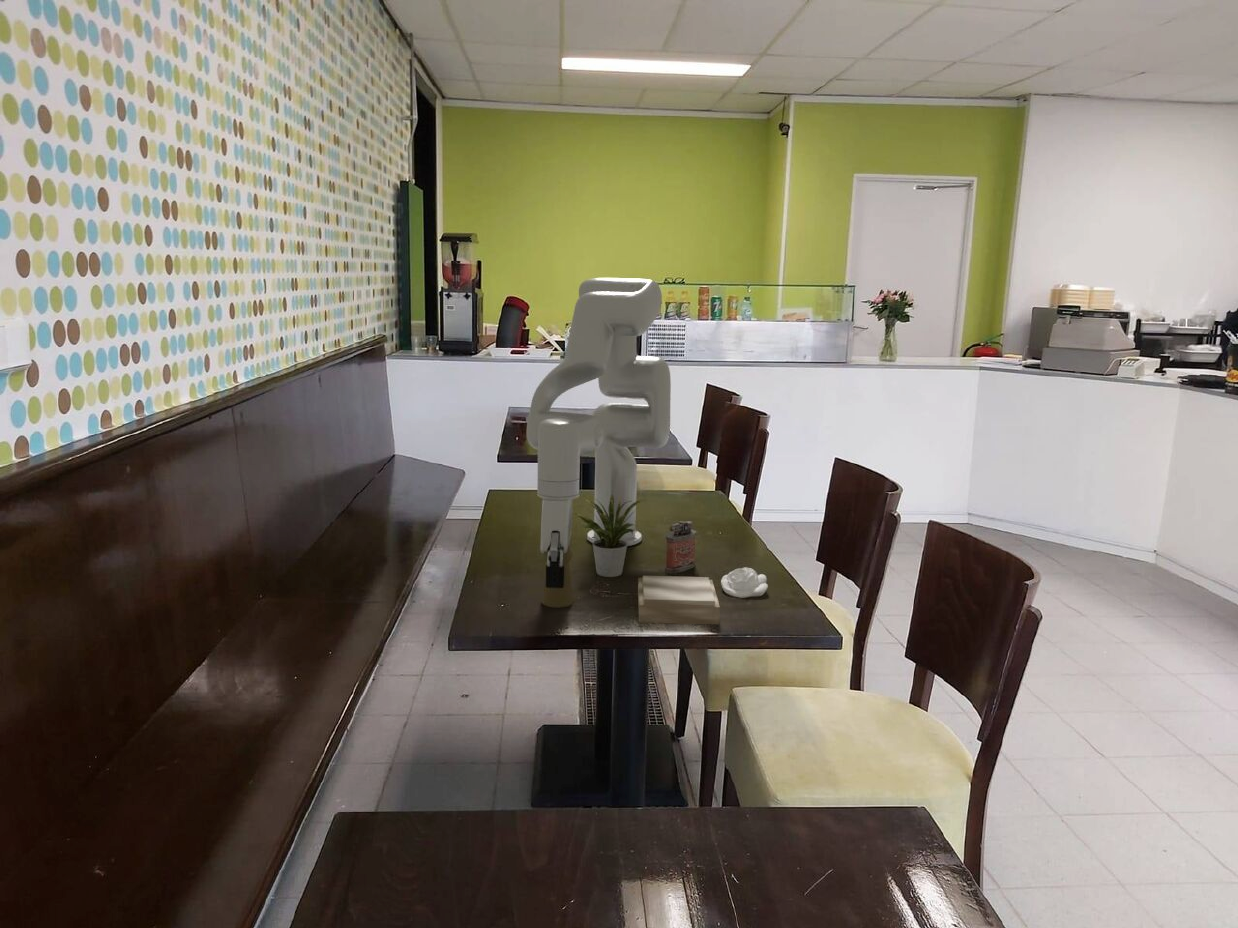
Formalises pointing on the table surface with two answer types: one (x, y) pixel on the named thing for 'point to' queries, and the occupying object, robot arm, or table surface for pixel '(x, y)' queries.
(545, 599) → the cork
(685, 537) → the lighter
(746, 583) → the rose
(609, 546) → the house plant
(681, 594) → the birch plinth
